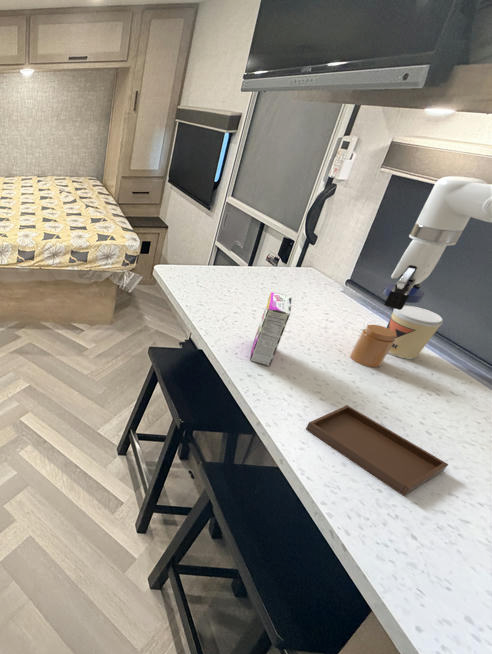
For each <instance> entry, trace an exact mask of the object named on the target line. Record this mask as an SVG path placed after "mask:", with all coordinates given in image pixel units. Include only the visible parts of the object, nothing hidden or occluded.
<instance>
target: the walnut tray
mask: <svg viewBox="0 0 492 654" xmlns="http://www.w3.org/2000/svg"><path fill="white" fill-rule="evenodd" d="M305 431H307V432H309V433H311V434H312V435H314V436H315V437H316V438H318V439H319V440H321V441H322V442H324V443H325V444H327V445H328V446H330V447H331V448H333V449H334V450H336V451H337V452H339V453H340V454H342V455H343V456H344V457H346V458H347V459H349V460H351V461H352V462H353V463H354V464H356V465H357V466H359V467H360V468H363V469H364V470H365V471H366V472H368V473H369V474H371V475H373V476H374V477H375V478H377V479H378V480H380V481H381V482H383V483H384V484H386V485H387V486H389V487H390V488H391V489H393V490H395V491H396V492H397V493H398V494H401V496H403V497H405V496H406V495H408V494H409V493H412V492H413V491H415V490H416V489H418V488H419V487H421V486H422V485H424V484H426V483H428V482H429V481H430V480H432V479H433V478H435V477H437V476H438V475H440V474H442V473H443V472H444V471H445V470H446V469H447V468H448V466H449V463H447V462H445V461H444V460H442V459H440V458H438V457H437V456H435V455H434V454H432V453H430V452H428V451H427V450H425V449H423V448H421V447H419V446H418V445H416V444H414V443H413V442H411V441H410V440H407V439H406V438H404V437H402V436H401V435H399V434H397V432H395V431H392V430H390V429H389V428H387V427H385V426H384V425H382V424H380V423H379V422H377V421H375V420H373V419H372V418H370V417H369V416H367V415H365V414H363V413H362V412H359V411H358V410H356V409H355V408H353V407H351V406H350V405H347V404H346V405H344V406H342V407H340V408H337V409H335V410H333V411H331V412H328V413H326V414H325V415H322V416H320V417H318V418H315V419H314V420H311V421H309V422H308V424H307V426H306V428H305Z"/></svg>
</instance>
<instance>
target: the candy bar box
mask: <svg viewBox="0 0 492 654" xmlns="http://www.w3.org/2000/svg"><path fill="white" fill-rule="evenodd" d="M292 298H293V297H292V296H291V295H287V294H283V293H278V292H273V291H271V292H270V294H269V296H268V299H267V302H266V305H265V307H264V310H263V313H262V316H261V319H260V322H259V324H258V328H257V330H256V333H255V336H254V339H253V343H252V348H251V352H250V359H249V361H250V362H253V363H257V364H260V365H264V366H267V367H270V366H271V364H272V362H273V359H274V357H275V354H276V352H277V349H278V346H279V345H280V342H281V339H282V336H283V333H284V332H285V329H286V326H287V323H288V321H289V318H290V316H291V312H292Z"/></svg>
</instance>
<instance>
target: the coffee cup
mask: <svg viewBox="0 0 492 654" xmlns="http://www.w3.org/2000/svg"><path fill="white" fill-rule="evenodd" d="M442 325H443V318H442V317H441V315H439V314H438V313H436V312H434V311H432V310H428V309H425V308H422V307H419V306H415V305H404V306H403V308H402V309H401V310H398V309H395V308H393V311H392V314H391V316H390V319H389V321H388V323H387V325H386V326H385V327H386V328H388V329H391V330H392V331H394V332H395V333H396V337H395V342H394V343H393V345H392V347H391V349H390V350H389V352H388V355H392V356H394V357H396V358H401V359H406V360H407V359H408V360H413V359H416V358H417V357H418V356H419V354H420V353H421V352H422V351H423V349H424V348H425V347H426V345H427V344H428V343H429V341H430V340H431V338H433V336H434V335H435V333H436V332H437V331H438V329H439V328H440V326H442Z"/></svg>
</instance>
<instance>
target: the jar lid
mask: <svg viewBox="0 0 492 654" xmlns="http://www.w3.org/2000/svg"><path fill="white" fill-rule="evenodd" d="M395 284H396V283H389V284H386V285H385V287H384V289H383V291H382V293H383V295H384V296H386V297H387V298H388V296H389V294H390V292H391V290H392V289H393V287H394V286H395ZM407 287H409V286H407ZM408 295H409V297H408V299H407V301H406V303H408V304H419V303H421V302H422V300H423V298H424V297H425V295H426V294H425V292H424V291H423V290H420V288H419V289H416V288H413V287H412V289H411V290H410V292H409V294H408Z"/></svg>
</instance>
